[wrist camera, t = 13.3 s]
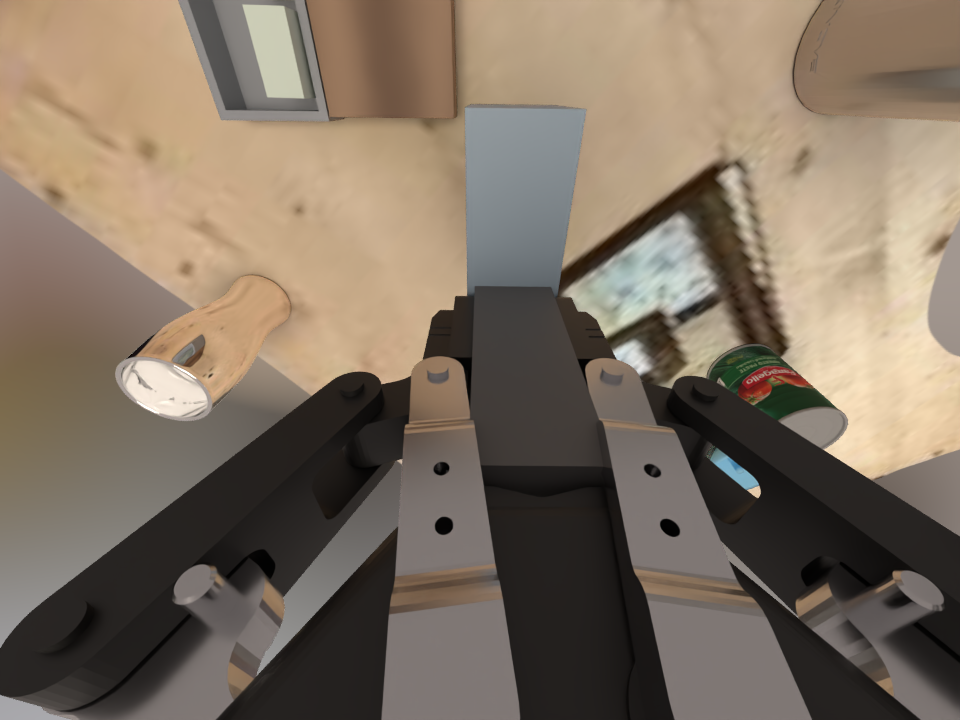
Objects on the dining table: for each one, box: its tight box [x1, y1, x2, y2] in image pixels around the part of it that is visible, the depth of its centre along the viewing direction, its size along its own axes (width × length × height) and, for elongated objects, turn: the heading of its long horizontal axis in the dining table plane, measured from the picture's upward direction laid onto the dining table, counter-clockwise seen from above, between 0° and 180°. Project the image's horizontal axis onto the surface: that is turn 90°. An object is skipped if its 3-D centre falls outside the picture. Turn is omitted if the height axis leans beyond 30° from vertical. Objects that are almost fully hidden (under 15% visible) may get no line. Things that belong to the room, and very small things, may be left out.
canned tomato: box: [707, 344, 848, 450], centre depth 40 cm, size 8×8×11 cm
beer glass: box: [115, 275, 291, 421], centre depth 33 cm, size 7×7×15 cm
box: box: [178, 0, 344, 121], centre depth 24 cm, size 8×13×4 cm, turn 179°
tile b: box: [242, 4, 316, 98], centre depth 24 cm, size 4×4×2 cm
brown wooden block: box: [306, 0, 457, 118], centre depth 24 cm, size 9×12×4 cm
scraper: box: [465, 104, 605, 497], centre depth 11 cm, size 3×12×12 cm, turn 179°
